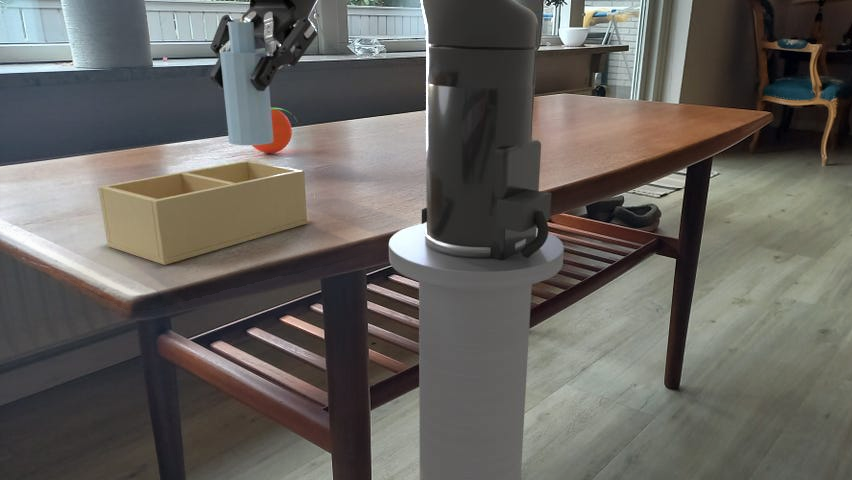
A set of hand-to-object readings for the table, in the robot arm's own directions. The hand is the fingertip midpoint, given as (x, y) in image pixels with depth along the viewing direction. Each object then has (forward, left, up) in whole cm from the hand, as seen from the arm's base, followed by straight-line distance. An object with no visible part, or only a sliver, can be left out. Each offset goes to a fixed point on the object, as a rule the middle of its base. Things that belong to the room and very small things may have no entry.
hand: (236, 84), depth 84 cm
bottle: (0, -2, -7) cm, 7 cm away
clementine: (+12, -16, -12) cm, 23 cm away
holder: (-17, +17, -12) cm, 27 cm away
